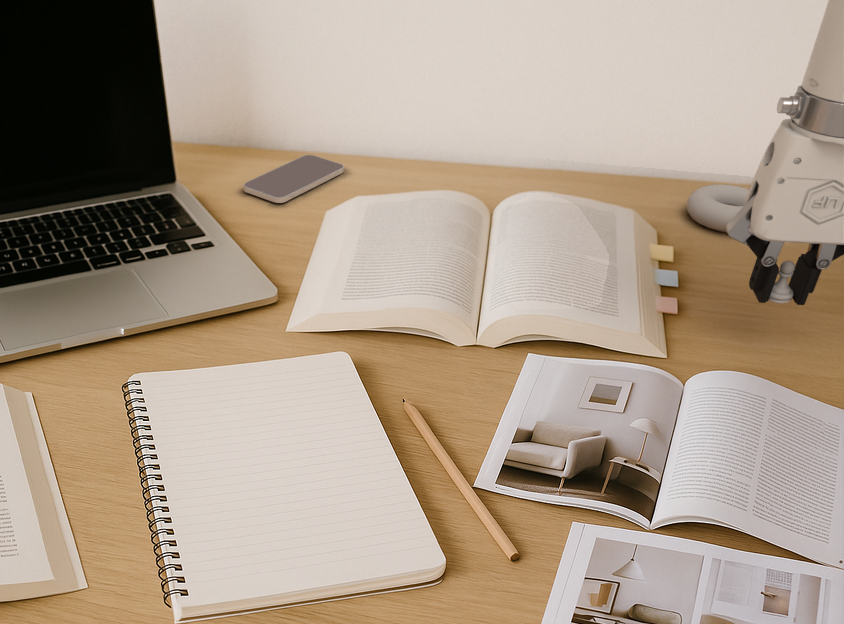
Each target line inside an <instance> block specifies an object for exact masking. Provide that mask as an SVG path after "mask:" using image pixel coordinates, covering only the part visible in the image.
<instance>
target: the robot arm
mask: <svg viewBox="0 0 844 624" xmlns="http://www.w3.org/2000/svg"><path fill="white" fill-rule="evenodd" d="M776 112H777V114H786V116H789V117H790V118H785V119H783V120H782V121H781V123H780V124H779V126H778V128H777V129H776V131H775V132H774V134H773V136H772V137H771V139H770V141H769V143H768V145H767V147H766V148H765V149H766V150H764V153H763V155H762V157H761V160H760V161H759V164H758V166H757V168H756V172H755V174H754V176H753V179H752V181H751V184H750V187H749V188H748V189H749V192H748V195H747V198H746V201H745V205H744V206H743V207H742V209H741V210H740V211H739V212H738V213H737V214H736V215H735V216H734V217H733V218H732V220H731V221H730V222H729V223H728V224H727V225H726V228H725V229H726V231H727V232H726V233H727V235H728V237H730V238H731V239H733V240H735V241H737V242H738V243H741V244H743V245H746V246H747V247H748V248H749V249H750V250H751V252H752V253H753V254H754V255H755V256H756V259H755V261H754V262H755V263H754V266H753V268H752V270H751V271H752V272H751V273H750V277H749V281H748V287H749V288H750V290H751V291H753V294H754V296H755V298H756V300H757V302H758V303H759V304H766V303H768V302H769V298H770V295H771V292H772V289H773V286H774V284H775V282H777V278H778V276H779V274H778V272H779V270H780V266H778V264H777V262H778V258H779V256H780V253H781V251H782V248H783V246H784V244H785V243H792V244H808V248H807V251H806V252H805V253H801V254H800V256H798V258H797V260H796V263H795V270H794V271H793V272H792V273H793V276H792V277H790V280H789V282H788V285H789V287H790V288H791V289H792V291H793V293H794V295H793V297H792V300H793V302H794V304H796V305H797V306H805V304H806V303H807V300H808V297H809V294H813V293H814V291H815V289H816V286H817V284H818V281H819V278H820V277H821V273H822V272H823V270H826V269H828V268H830V266H831V264H832V262H834V261H835V260H837V259H839V258H841V257H842V256H844V0H828V1H827V4H826V7H825V10H824V14H823V16H822V20H821V22H820V25H819V29H818V31H817V35H816V39H815V41H814V44H813V48H812V51H811V54H810V56H809V60H808V63H807V66H806V69H805V72H804V75H803V79H802V81H801V85H798V87H797V89H796V92H795V93H794V95H790V96H789V97H784V96H783V97H780V98H779V99H778V101H777V106H776ZM750 225H751V229H750V228H749V227H750Z"/></svg>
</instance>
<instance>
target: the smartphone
mask: <svg viewBox="0 0 844 624" xmlns="http://www.w3.org/2000/svg"><path fill="white" fill-rule="evenodd" d="M344 172H345V165H344V164H342V163H341V162H340V163H339V162H336V161H333V160H330V159H327V158H325V157H320V156H317V155H313V154H305V155H302V156H299V157H298V158H295V159H294V160H291V161H288V162H287V163H284V164H282V165H280V166H278V167H276V168H274V169H271V170H269V171H267V172H265V173H263V174H261V175H258V176H256V177H254V178H252V179H250V180H248V181H246V182H244V183H243V185H242V186H243V187H242V188H243V192H245V193H247V194H250V195H252V196H256V197H259V198H261V199H264V200H265V201H269V202H272V203H276V204H283V203H286V202H288V201H290V200H292V199H294V198H296V197H297V196H300V195H302V194H304V193H306V192H309V190H312V189H314V188H316V187H319V186H320V185H321V184H324V183H325V182H328V181H330V180H331V179H333V178H335V177H337V176H339V175H341V174H343V173H344Z"/></svg>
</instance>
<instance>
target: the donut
mask: <svg viewBox="0 0 844 624" xmlns="http://www.w3.org/2000/svg"><path fill="white" fill-rule="evenodd" d="M749 189H750V188H746V187H743V186H739V185H734V184H733V185H732V184H720V183H719V184H707V185H704V186H702V187H699V188H697V189H695V190H694V191H693V192H692V193H691V194H690V195H689V196H688V198H687V202H686V210H687V213H688V215H689V216H690V217H691V219H692V220H693V221H695V222H696V223H698V224H699V225H701V226H704V227H705V228H708V229H711V230H715V231H718V232H721V233H727V231H726V229H725V228H726V225H727V224H728V223H729V222H730V221H731V220H732V218H733V217H734V216H735V215H736V214H737V213H738V212H739V211H740V210H741V209H742V207H743V206H744V205H745V201H746V198H747V195H748V192H749ZM749 228H750V229H751V225H750V227H749Z"/></svg>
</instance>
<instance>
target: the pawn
mask: <svg viewBox="0 0 844 624" xmlns="http://www.w3.org/2000/svg"><path fill="white" fill-rule="evenodd" d="M795 266H796V263H794V262H793V261H792V260H784V261H783V262H781V264H780V266H779V272H778V276H779V278H778V279H777V280H776V281H775V284H774V286H773V289H772V292H771V295H770V298H769V300H768V302H772V303H775V304H788V303H790V302H792V300H793V298H792V297H793V295H794V293H793V291H792V289H791V288H790V287H789V283H788V279H789V278H791V277H792V276H793V271H794V270H795Z"/></svg>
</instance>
